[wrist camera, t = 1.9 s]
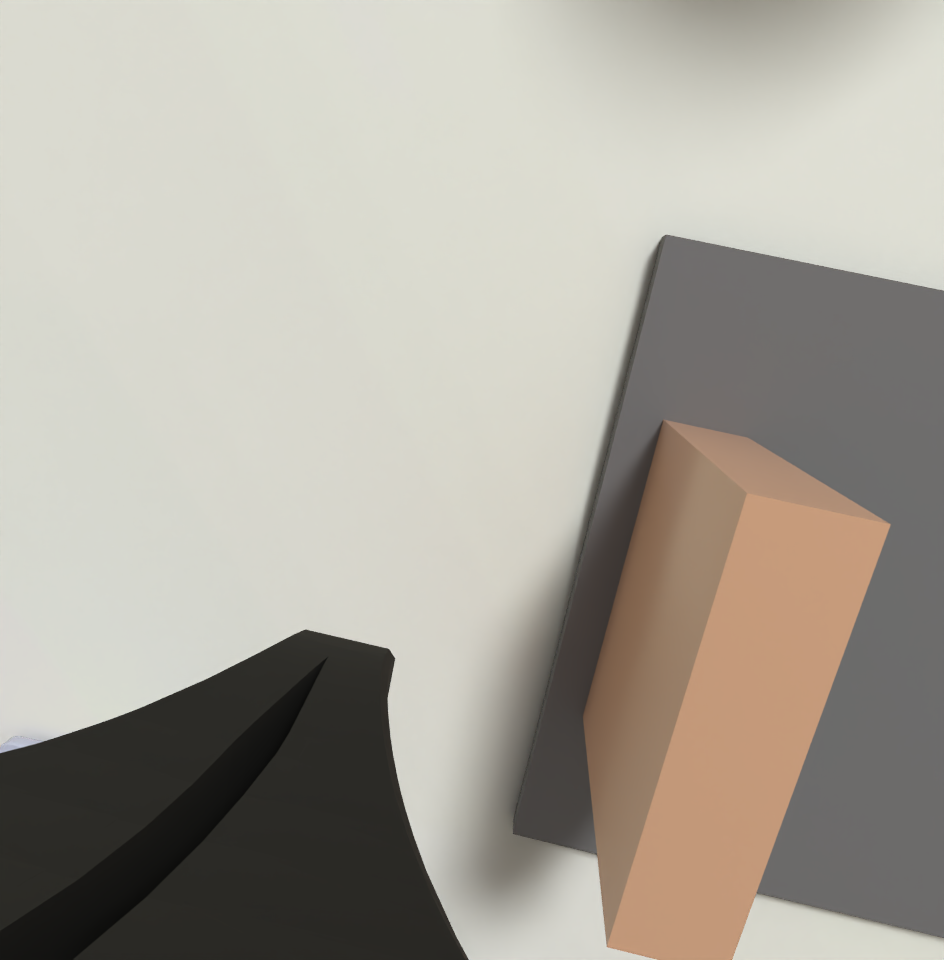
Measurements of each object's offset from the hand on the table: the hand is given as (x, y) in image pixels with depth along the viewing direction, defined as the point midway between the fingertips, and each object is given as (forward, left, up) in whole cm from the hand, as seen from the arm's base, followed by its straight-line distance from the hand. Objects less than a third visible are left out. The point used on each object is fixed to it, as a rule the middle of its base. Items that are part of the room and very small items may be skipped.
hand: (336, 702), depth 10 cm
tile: (0, -6, -8) cm, 10 cm away
